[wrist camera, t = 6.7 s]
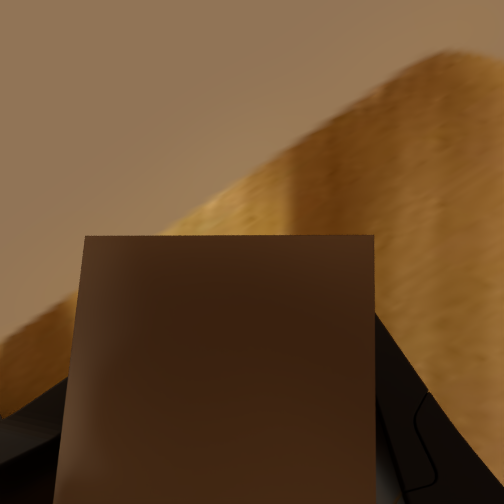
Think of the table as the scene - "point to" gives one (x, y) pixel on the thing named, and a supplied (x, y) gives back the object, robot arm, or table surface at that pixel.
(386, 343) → the robot arm
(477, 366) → the table surface
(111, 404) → the walnut pillar
